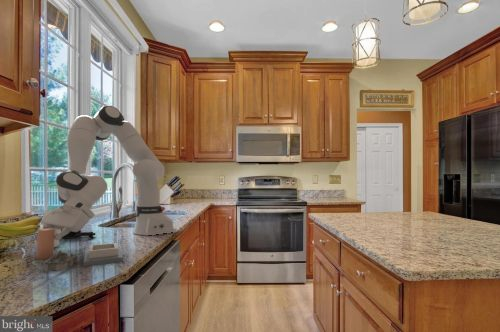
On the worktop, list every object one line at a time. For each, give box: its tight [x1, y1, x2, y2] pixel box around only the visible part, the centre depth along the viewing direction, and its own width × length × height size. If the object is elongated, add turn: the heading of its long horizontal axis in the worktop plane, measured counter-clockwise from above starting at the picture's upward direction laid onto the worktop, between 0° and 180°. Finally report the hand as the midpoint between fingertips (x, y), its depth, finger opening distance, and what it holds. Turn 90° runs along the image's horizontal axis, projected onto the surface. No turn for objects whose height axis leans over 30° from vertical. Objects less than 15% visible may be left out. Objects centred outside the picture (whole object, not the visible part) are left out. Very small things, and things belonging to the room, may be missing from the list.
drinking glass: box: [42, 209, 61, 248], centre depth 112 cm, size 7×7×15 cm
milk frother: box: [60, 205, 96, 239], centre depth 130 cm, size 14×16×15 cm
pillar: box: [35, 228, 55, 260], centre depth 98 cm, size 5×5×10 cm
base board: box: [82, 242, 124, 267], centre depth 99 cm, size 12×16×4 cm
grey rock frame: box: [41, 250, 80, 272], centre depth 89 cm, size 11×8×4 cm
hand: (47, 237), depth 99 cm, fingers open, 8 cm apart
